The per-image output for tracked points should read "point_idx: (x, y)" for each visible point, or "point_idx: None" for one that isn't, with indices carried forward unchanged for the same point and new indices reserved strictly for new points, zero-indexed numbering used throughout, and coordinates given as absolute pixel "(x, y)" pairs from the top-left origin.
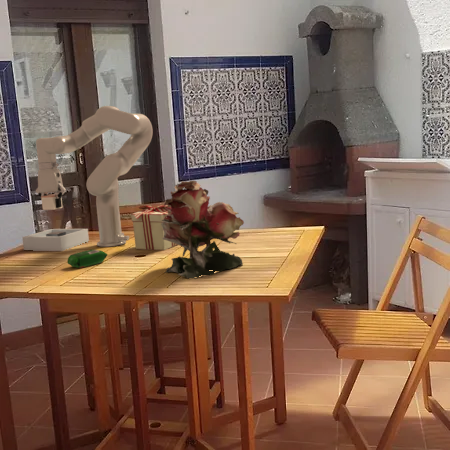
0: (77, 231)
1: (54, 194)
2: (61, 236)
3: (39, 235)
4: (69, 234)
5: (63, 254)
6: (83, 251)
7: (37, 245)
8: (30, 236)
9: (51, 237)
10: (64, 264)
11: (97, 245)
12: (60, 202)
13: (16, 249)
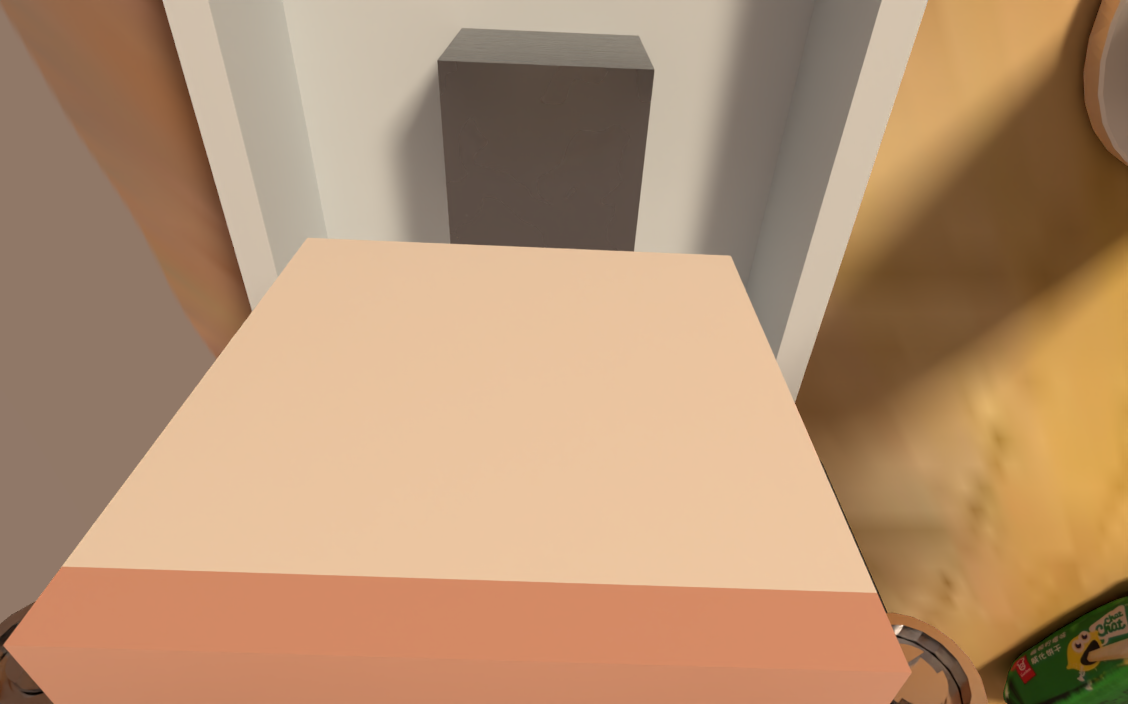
0: (877, 71)
1: (449, 697)
2: None
3: (263, 150)
4: (832, 288)
5: (826, 441)
6: (1120, 698)
7: None
8: None
9: None
10: (943, 627)
11: (1100, 139)
12: None
13: (176, 271)
